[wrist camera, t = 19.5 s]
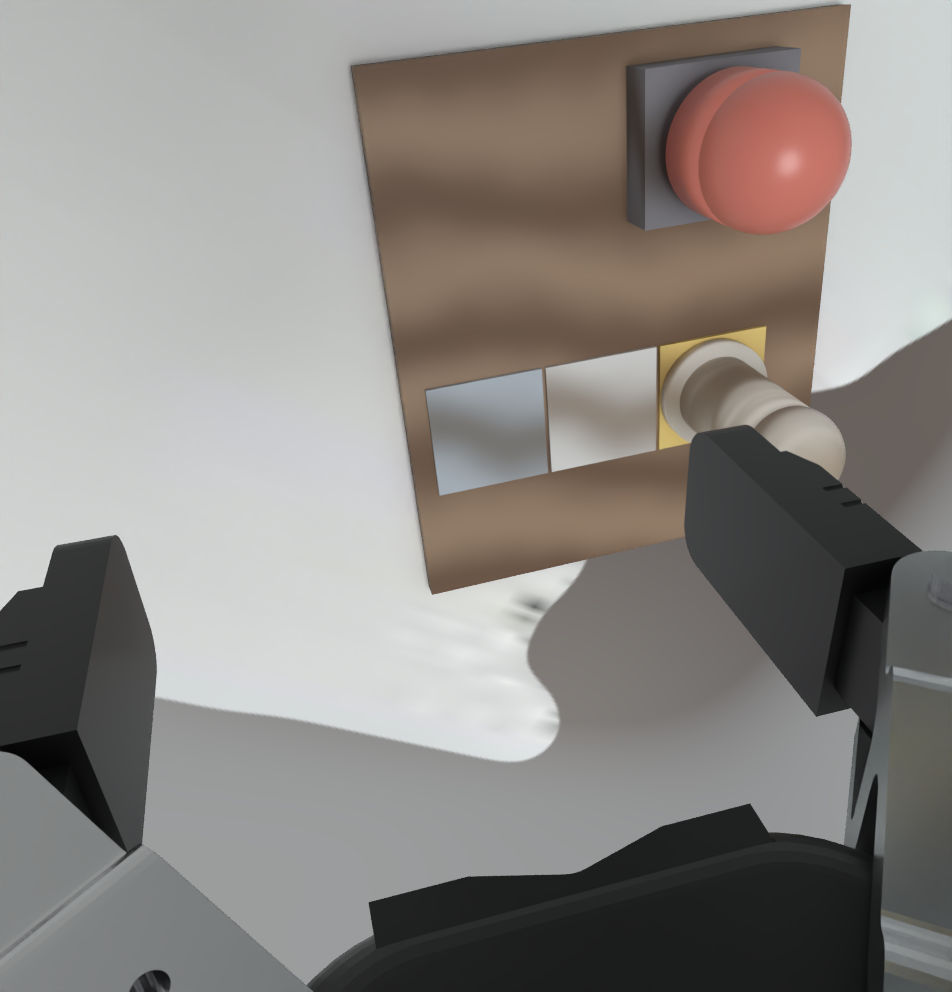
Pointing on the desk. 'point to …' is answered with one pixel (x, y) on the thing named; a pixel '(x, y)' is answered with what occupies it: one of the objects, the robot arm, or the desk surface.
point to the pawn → (745, 403)
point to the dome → (758, 149)
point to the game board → (569, 280)
